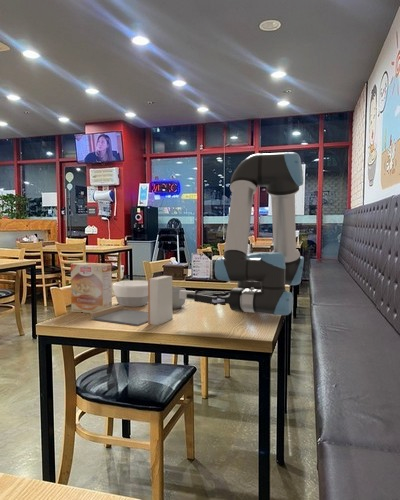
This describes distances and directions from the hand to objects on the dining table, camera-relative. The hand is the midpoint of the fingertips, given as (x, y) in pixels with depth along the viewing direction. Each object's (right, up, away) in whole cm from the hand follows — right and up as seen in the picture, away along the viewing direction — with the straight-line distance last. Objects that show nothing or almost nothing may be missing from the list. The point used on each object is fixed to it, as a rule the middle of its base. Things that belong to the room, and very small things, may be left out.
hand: (180, 294), depth 140 cm
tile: (-7, -10, +4) cm, 13 cm away
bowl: (-23, -9, +37) cm, 44 cm away
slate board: (-19, -10, +10) cm, 24 cm away
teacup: (-6, -9, +29) cm, 31 cm away
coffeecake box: (-37, -10, +21) cm, 44 cm away
